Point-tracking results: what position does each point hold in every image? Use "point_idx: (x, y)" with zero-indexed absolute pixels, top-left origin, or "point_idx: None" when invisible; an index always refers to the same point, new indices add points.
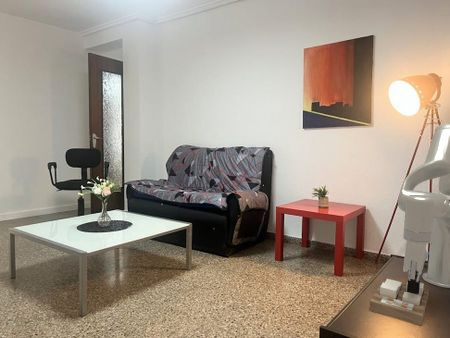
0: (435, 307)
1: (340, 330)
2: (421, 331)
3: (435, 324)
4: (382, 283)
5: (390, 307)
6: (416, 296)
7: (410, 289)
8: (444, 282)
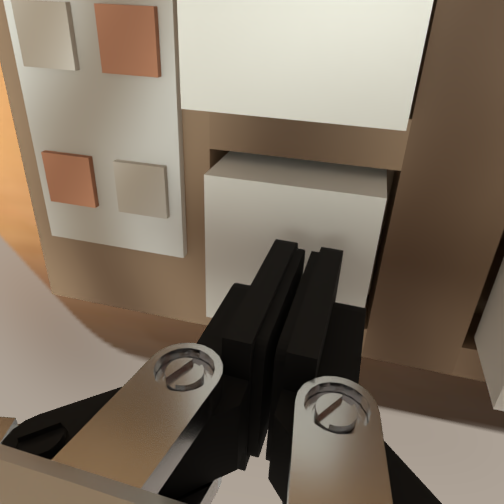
0: None
1: None
2: (31, 248)
3: (175, 328)
4: None
5: (3, 57)
6: None
7: (230, 293)
8: None
